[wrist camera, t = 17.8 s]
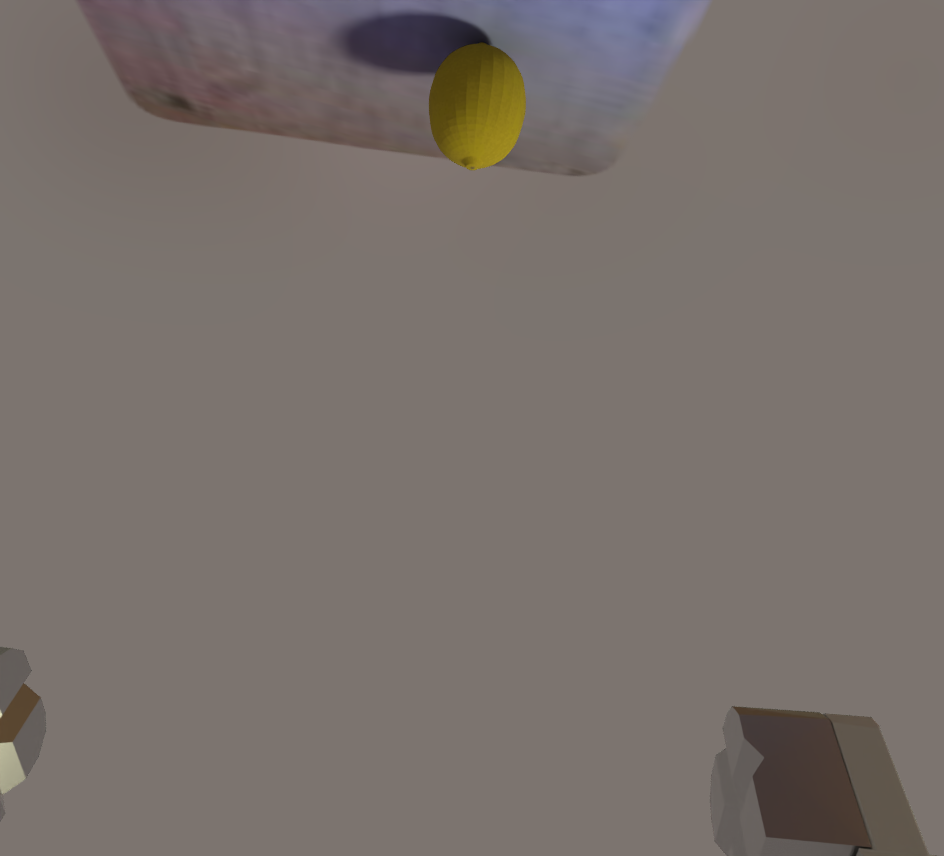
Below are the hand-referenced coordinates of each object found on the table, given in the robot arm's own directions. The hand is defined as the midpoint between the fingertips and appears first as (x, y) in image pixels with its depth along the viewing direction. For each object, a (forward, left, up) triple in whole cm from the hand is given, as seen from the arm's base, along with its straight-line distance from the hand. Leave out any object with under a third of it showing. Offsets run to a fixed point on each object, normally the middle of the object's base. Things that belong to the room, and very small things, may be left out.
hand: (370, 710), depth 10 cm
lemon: (+30, +16, -35) cm, 49 cm away
